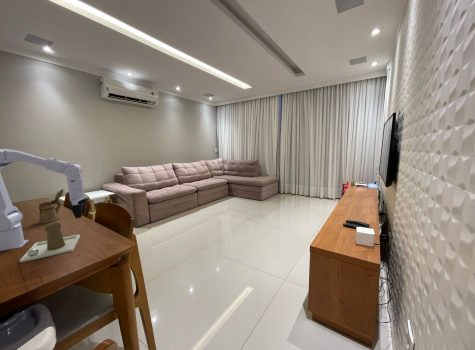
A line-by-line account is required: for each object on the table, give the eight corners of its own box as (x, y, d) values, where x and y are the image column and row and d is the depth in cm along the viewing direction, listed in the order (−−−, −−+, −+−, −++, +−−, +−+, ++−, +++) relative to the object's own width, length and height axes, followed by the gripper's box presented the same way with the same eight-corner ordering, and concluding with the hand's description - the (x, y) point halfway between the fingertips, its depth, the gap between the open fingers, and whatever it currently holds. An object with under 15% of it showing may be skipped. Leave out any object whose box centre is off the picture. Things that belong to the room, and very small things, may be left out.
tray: (20, 263, 76) (19, 260, 76) (36, 245, 90) (35, 242, 90) (73, 251, 84) (72, 248, 84) (80, 237, 98) (79, 234, 98)
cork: (54, 251, 84) (49, 226, 82) (43, 249, 86) (38, 225, 84) (68, 244, 90) (65, 221, 88) (58, 242, 91) (54, 220, 90)
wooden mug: (70, 217, 127) (66, 189, 124) (41, 224, 115) (36, 194, 112) (65, 214, 131) (60, 188, 128) (36, 221, 120) (31, 193, 117)
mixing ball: (26, 259, 78) (25, 251, 78) (29, 255, 81) (28, 248, 81) (37, 257, 80) (36, 249, 79) (40, 253, 83) (39, 246, 82)
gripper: (83, 190, 92) (87, 218, 94) (88, 185, 105) (92, 210, 107) (63, 192, 89) (68, 221, 91) (71, 186, 101) (75, 212, 103)
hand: (80, 215), depth 99 cm, fingers open, 7 cm apart
